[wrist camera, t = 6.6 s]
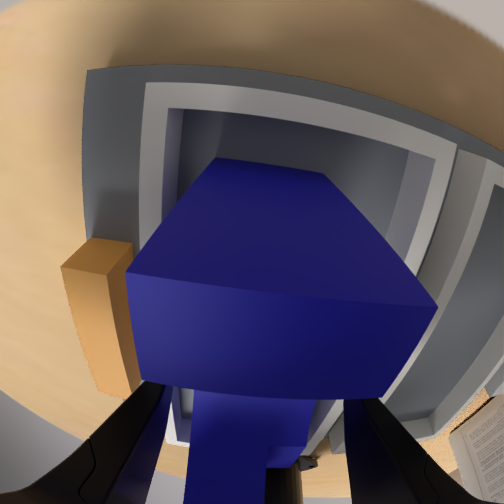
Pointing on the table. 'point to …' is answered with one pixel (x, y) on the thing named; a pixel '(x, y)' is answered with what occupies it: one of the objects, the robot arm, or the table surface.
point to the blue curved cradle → (267, 316)
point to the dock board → (306, 158)
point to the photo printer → (482, 451)
